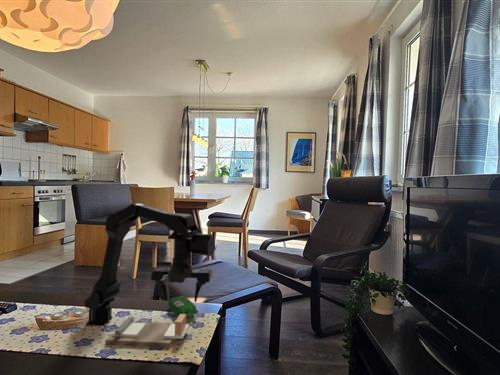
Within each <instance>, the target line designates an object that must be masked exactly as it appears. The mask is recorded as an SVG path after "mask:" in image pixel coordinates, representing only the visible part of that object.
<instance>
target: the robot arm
mask: <svg viewBox="0 0 500 375" xmlns="http://www.w3.org/2000/svg"><path fill="white" fill-rule="evenodd" d="M139 218H143V219H146V220H149V221H153V222H155V223H159V224H160V225H164V226H165V227H166V228H167V229H169V230H170V231H172V233H171V234H170V235H169V236H168V237H167V239H169V240H173V257H172V262H171V265H170V268H169V267H157V268H155V269H154V270H153V271H152V272H151V274H150V281H154V282H155V284H158V285H159V286H160V288H161V289H162V292H163V295H164V297H165V300H166V302H169V300H170V283H171V284H173V283H179V284H182V283H184V282H185V281H186V279H196V281H195V293H194V303H196V302H197V300H198V298H199V295H200V291H201V289H202V287H203V285H206V284H207V283H210V281H211V279H212V278H213V270H211V269H209V268H199V270H198V271H193V268H192V258H193V255H197V256H205V257H206V256H208V257H212V256H213V255H214V253H215V251H216V250H215V249H216V243H215V239H214V238H213V234H212V233H206V234H205V233H202V232H201V229H200V228H199V227H198V226H197V225H198V224H196V221H195V218H194V216H193V215H192V214H189V213H180V212H179V213H176V212H169V211H166V210H162V209H159V208H156V207H153V206H149V205H146V204H144V203H141V202H137V203H136V202H135V203H131V204H129V205H128V206H127V207H125V208H122V209H121V210H119V211H117V212H115V213H111V214H110V215H108V216H107V217H106V220H105V232H106V234H107V236H108V237H107V243H106V249H105V254H104V257H103V262H102V263H103V264H102V268H101V273H100V277H98V279H97V281H96V282H95V283H94V284H93V288H92V290H91V294H90V295H89V296H88V297H87V298H86V299H85V300H84V302H83V303H84V307H85V309H88V321H87V322H86V323H85V325H86V326H99V327H100V326H103V327H104V326H105V325H106V324H107V323H109V322H110V321H111V320H112V319H113V316H112V315H113V314H112V310H113V308H112V307H111V303H112V302H114V301H115V298H116V297H117V296H118V294H119V293H120V288H121V285H122V282H121V281H118V279H117V272H118V267H119V263H120V258H121V252H122V249H123V248H122V247H123V244H124V243H123V242H124V239H125V237H126V236H127V235H128V233H129V232H130V231H131V227H132V225H133V223H134V222H135V221H137V220H138V219H139Z"/></svg>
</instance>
